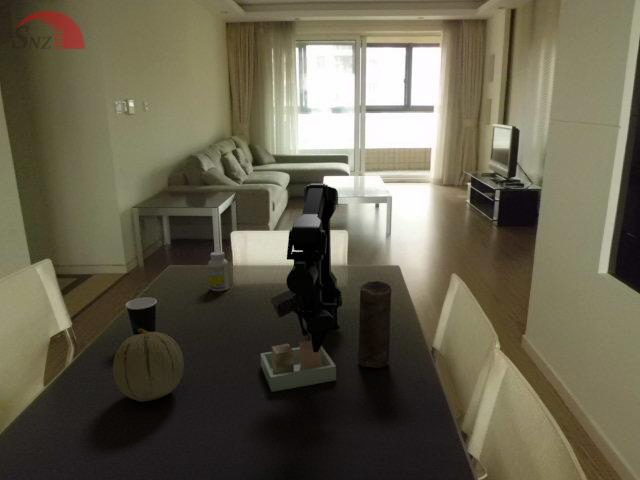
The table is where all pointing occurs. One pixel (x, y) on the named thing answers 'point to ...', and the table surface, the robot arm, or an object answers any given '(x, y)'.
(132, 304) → the dixie cup
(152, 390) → the cantaloupe
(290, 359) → the maple block
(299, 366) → the sage tub
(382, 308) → the candle
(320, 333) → the robot arm
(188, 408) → the table surface
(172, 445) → the table surface
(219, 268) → the supplement bottle
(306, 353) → the coral block
